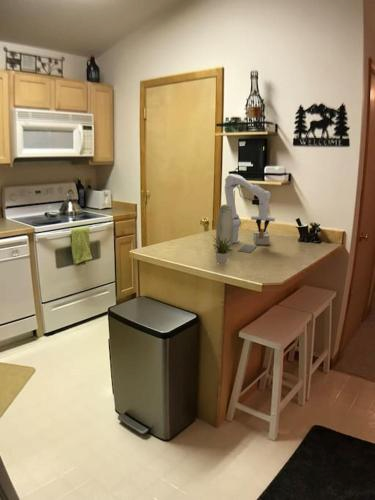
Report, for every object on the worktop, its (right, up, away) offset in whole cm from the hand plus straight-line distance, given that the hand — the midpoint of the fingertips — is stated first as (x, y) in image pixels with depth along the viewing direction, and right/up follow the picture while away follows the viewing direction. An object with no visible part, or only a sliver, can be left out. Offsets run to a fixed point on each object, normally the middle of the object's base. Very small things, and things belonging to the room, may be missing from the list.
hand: (262, 231), depth 254 cm
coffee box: (+2, -5, +8) cm, 10 cm away
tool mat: (-9, -11, -1) cm, 14 cm away
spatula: (0, -2, +1) cm, 2 cm away
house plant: (-30, -19, -34) cm, 49 cm away
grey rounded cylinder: (-25, -11, -5) cm, 28 cm away
